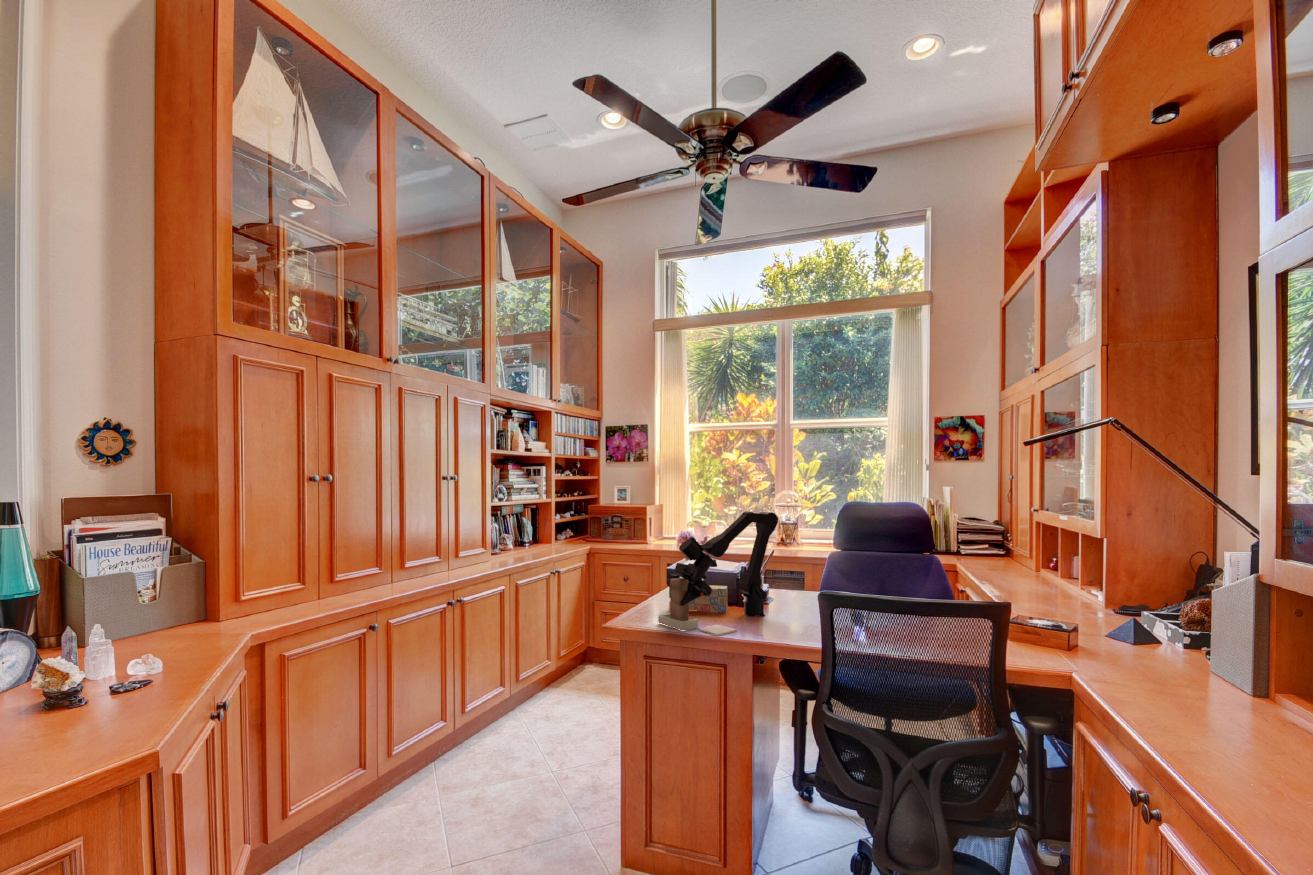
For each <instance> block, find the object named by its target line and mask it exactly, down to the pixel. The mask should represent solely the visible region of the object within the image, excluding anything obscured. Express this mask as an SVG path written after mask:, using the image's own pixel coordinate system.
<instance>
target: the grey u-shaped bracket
mask: <svg viewBox="0 0 1313 875" xmlns="http://www.w3.org/2000/svg"><path fill="white" fill-rule="evenodd" d="M657 619H658V621H657V623H658V622H659V623H662V624H665V625H668V626H671V627H675V628H677V629H680V630H687V631H690V630H689V629H691V630H694V628H696V629H698V628H699V618H694V619H689V620H688V621H683V622H682V621H679V620H675V619H672V618H671V612H669V613H665V614H659V615H658V618H657ZM697 627H698V628H697Z"/></svg>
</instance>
